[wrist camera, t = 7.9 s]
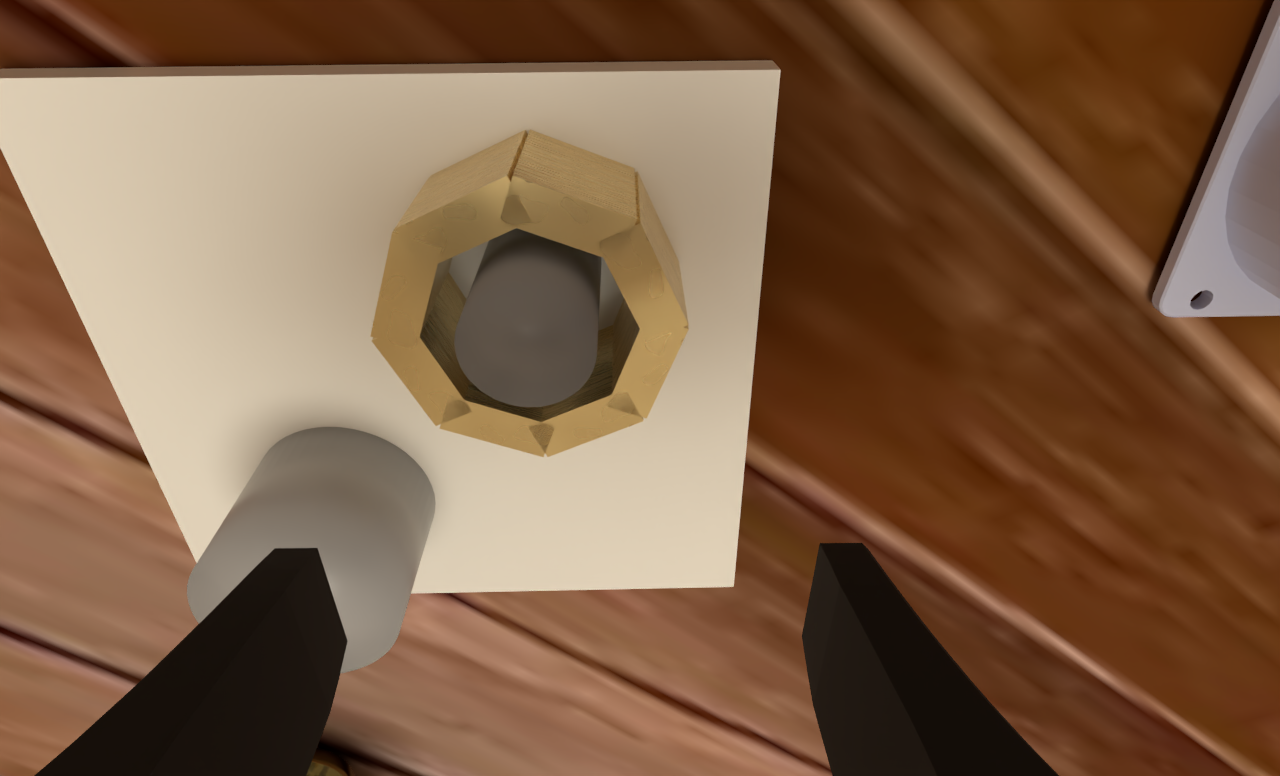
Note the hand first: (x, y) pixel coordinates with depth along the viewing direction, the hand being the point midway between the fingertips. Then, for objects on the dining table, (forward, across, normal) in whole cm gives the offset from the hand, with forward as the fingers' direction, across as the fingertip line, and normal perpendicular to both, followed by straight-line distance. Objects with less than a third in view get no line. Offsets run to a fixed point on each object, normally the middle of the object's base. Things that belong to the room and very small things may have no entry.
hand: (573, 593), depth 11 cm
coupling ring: (+8, +1, -1) cm, 9 cm away
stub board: (+9, +4, +2) cm, 10 cm away
